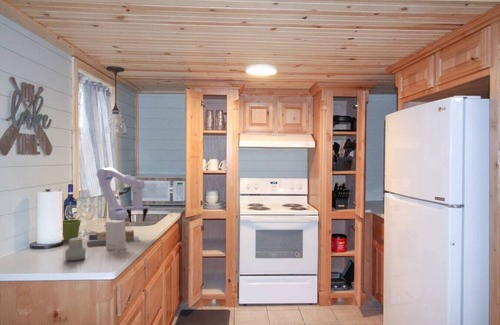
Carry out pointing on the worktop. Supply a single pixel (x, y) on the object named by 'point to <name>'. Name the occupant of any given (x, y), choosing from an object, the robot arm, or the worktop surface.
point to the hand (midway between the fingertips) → (137, 221)
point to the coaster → (134, 239)
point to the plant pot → (70, 229)
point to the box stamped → (129, 235)
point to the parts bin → (95, 241)
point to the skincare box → (115, 235)
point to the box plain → (100, 235)
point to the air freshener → (75, 250)
